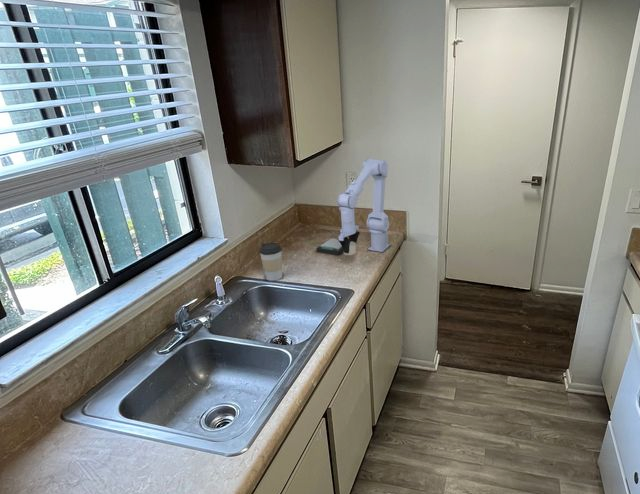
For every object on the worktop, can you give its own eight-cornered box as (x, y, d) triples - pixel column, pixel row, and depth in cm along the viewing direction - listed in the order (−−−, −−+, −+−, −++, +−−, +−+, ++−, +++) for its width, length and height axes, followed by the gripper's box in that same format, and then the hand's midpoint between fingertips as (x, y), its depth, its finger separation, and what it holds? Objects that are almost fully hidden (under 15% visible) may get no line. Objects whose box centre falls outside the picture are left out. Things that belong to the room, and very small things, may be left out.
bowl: (347, 249, 196) (347, 240, 194) (358, 251, 194) (358, 242, 193) (341, 254, 192) (340, 245, 190) (352, 256, 190) (352, 247, 188)
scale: (329, 242, 221) (329, 237, 220) (350, 246, 217) (350, 241, 216) (316, 251, 211) (316, 246, 210) (338, 255, 207) (337, 250, 206)
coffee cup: (288, 272, 190) (284, 241, 184) (280, 282, 182) (276, 249, 176) (268, 271, 191) (263, 240, 185) (259, 281, 183) (254, 248, 177)
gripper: (348, 214, 194) (349, 242, 200) (331, 225, 182) (333, 254, 188) (362, 216, 192) (363, 245, 197) (346, 227, 180) (348, 257, 185)
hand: (349, 250), depth 192 cm, fingers closed on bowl, 5 cm apart
